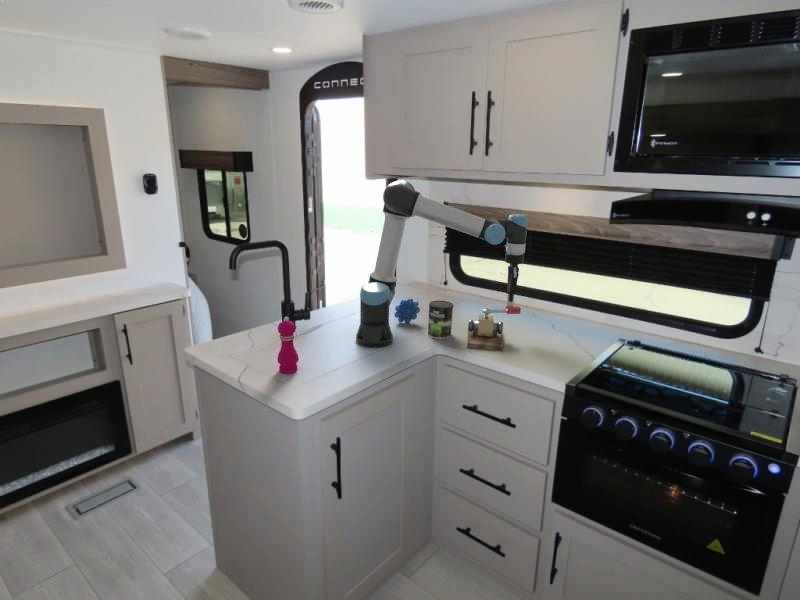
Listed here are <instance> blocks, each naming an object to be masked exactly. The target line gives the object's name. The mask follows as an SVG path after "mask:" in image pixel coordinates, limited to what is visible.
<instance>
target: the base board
mask: <svg viewBox="0 0 800 600" xmlns="http://www.w3.org/2000/svg"><path fill="white" fill-rule="evenodd" d="M466 339H467V340H466V341H467V342H466V344H467V345H466V348H467V349H479V350H490V351H491V350H492V351H503V347H504V344H503V339H502V334H498V333H497V338H492V337H491V336H477V337H473V331H472V332H469V331H468V330H467V338H466Z"/></svg>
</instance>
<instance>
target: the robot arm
mask: <svg viewBox="0 0 800 600" xmlns="http://www.w3.org/2000/svg"><path fill="white" fill-rule="evenodd" d="M382 200H383V208H382V212H383V214H384V216H385V217H384V223H383V227H382V232H381V237H380V242H379V246H378V252H377V256H376V261H375V267H374V271H372V272H371V273H370V274H369V279H368V283H366V284H364V285H363V286H361V288H360V291H359V298H360V299H359V300H360V305H359V306H360V308H359V309H360V314H359V315H360V318H359V320H360V321H359V326H358V330H357V332H356V335H355V342H356V343H357V344H358V345H359V346H362V347H365V348H372V349H373V348H384V347H389V346H390V345H392V344H393V341H394V340H393V339H394V336H393V333H392V332H393V331H392V329H391V327H390V305H391V303H392V301H393V300H394V297H395V294H396V285H397V280H398V279H397V277H396V276H395V272H396V268H397V264H398V259H399V255H400V254H399V253H400V251H401V245H402V241H403V235H404V231H405V227H406V222H407V220H408V219H410V218H415V217H419V218H421V219H425V220H427V221H430V222H433V223H436V224H437V225H441V226H443V227H444V226H445V227H447V228H450V229H452V230H453V229H454V230H456V231H458V232H462V233H465V234H467V235H470V236H471V237H472V236H473V237H474V238H478V239H481V240H483V241H486V242H487V243H488V244H490V245H492V246H493V245H499V244H501V243H503V241H504V240H505V239H506V244H504V247H505V252H506V253H505V255H504V256H505V257H504V262H505V263H507V264H509V265H508V266H507V281H506V282H507V283H506V290H507V291H506V301H505V302H506V303H505V307H506V306H514V302H515V294H516V292H517V285H518V279H519V275H520V274H519V272H520V268H519V265H522V264H524V262H525V253H526V247H527V246H526V245H527V243H526V242H527V235H528V234H527V233H528V223H529V220H528V218H529V217H528V216H527V215H525V214H518V213H512V214H510V215H509V216H508V218H505V219H503V218H501V219H500V218H489V217H486V218H484V217H481V216H479V215H475V214H472V213H470V212H467V211H464V210H461V209H458V208H456V207H453V206H450V205H448V204H444V203H442V202H439V201H436V200H433V199H431V198H428V197H425V196H423V195H422V193H421V192H420V191H417V190H416V189H415V186H413V184H412V183H410V182H409V181H407V180H402V179H398V180H396V181H393V182H391V183H390V184H388V185H387V186H386V187H385V189H384V191H383V196H382Z"/></svg>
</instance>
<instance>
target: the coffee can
mask: <svg viewBox="0 0 800 600" xmlns="http://www.w3.org/2000/svg"><path fill="white" fill-rule="evenodd" d="M453 310H454V304H453V302H451V301H447V300H432V301H429V304H428V324H427V325H428V326H427V336H428V337H429V338H432V339H436V340H447V339H450V338H451V337H452V325H453V312H454V311H453Z"/></svg>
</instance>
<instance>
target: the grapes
mask: <svg viewBox="0 0 800 600" xmlns="http://www.w3.org/2000/svg"><path fill="white" fill-rule="evenodd" d="M419 305H420V304H419V301H418V300H414V299H413V298H411V297H409V298H408V299H401V300H400V303H399V304H397V305H395V307H394V308H395V312H394V317H395V318H397V320H398V322H399V323H405V324H409V323H411V321H412V320H413V321H414V320H416V319H417V318H418V314H419V313H420V311H421V308H420V306H419Z"/></svg>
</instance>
